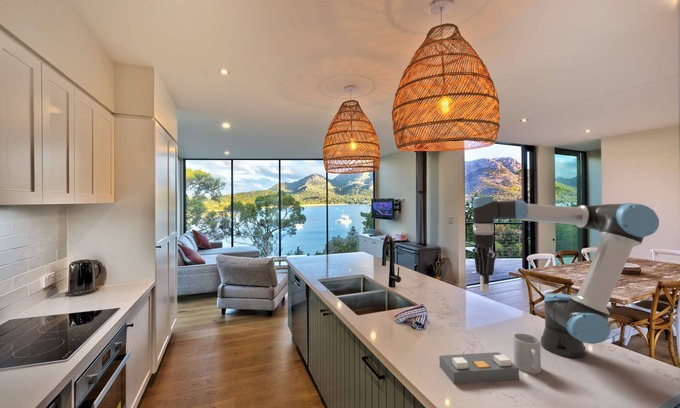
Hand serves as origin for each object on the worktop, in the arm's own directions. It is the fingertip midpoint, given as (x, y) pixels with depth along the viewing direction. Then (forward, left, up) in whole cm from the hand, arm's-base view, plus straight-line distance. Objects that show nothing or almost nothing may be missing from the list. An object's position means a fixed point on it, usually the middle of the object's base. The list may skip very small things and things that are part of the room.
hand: (484, 291), depth 114 cm
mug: (-10, +11, -27) cm, 30 cm away
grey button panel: (+10, +10, -26) cm, 30 cm away
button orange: (+10, +13, -25) cm, 30 cm away
